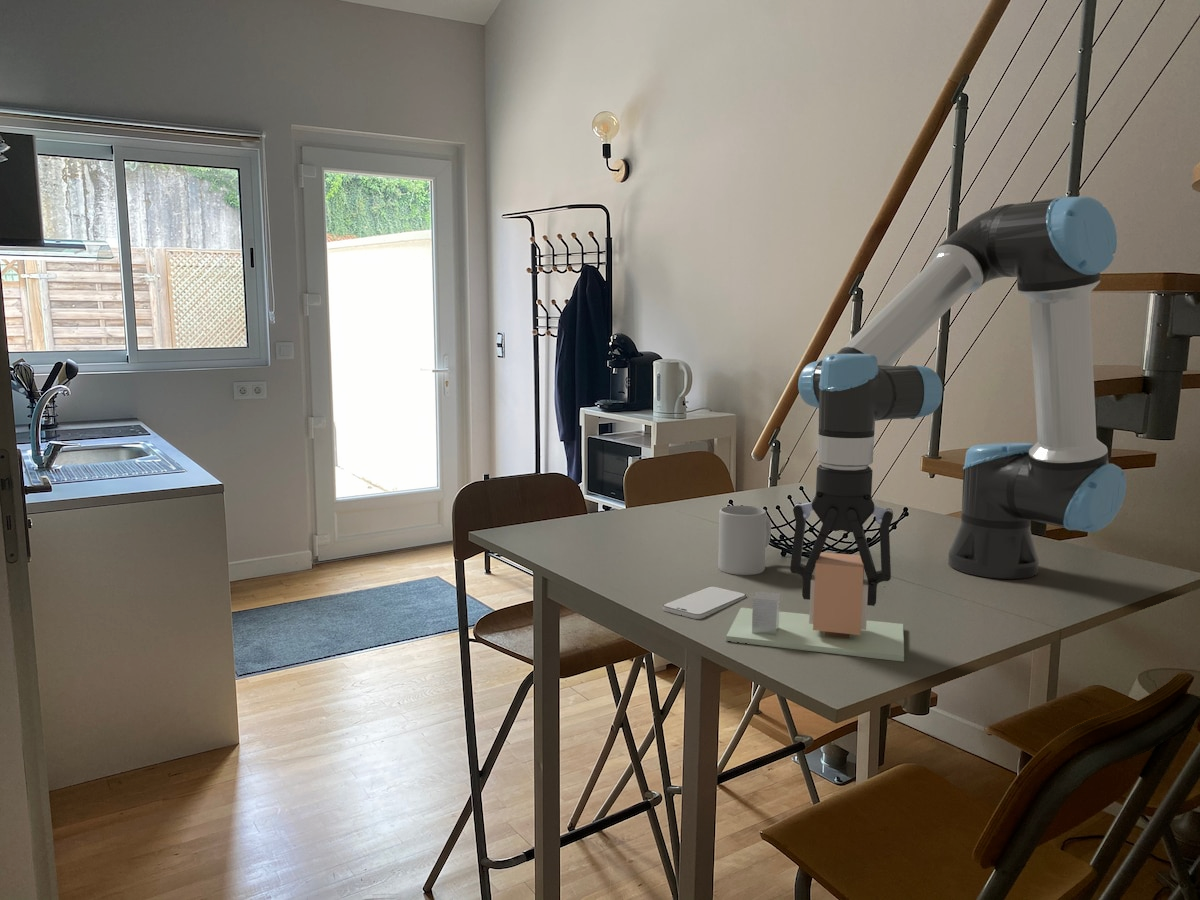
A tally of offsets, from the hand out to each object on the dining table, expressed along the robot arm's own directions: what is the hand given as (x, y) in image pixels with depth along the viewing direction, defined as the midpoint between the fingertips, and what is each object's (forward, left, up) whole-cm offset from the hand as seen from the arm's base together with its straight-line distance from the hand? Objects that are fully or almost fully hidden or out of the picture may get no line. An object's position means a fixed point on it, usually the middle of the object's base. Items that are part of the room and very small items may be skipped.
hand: (837, 623), depth 126 cm
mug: (+18, -33, -3) cm, 37 cm away
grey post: (+10, +2, -2) cm, 10 cm away
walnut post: (0, 0, -2) cm, 2 cm away
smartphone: (+21, -10, -3) cm, 24 cm away
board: (+3, -1, -2) cm, 4 cm away
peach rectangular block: (0, 0, 0) cm, 0 cm away
